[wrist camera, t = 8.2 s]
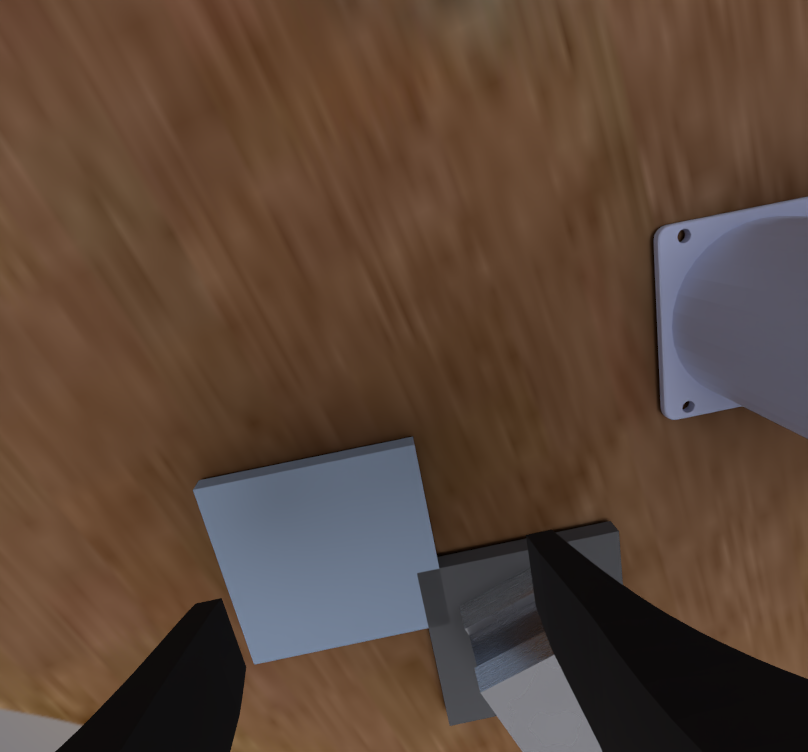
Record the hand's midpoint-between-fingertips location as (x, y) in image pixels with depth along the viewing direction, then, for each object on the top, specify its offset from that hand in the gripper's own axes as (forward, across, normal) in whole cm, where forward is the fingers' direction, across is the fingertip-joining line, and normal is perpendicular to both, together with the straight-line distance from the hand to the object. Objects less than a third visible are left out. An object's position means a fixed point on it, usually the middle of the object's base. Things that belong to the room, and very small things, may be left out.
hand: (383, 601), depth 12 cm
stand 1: (+10, +3, +5) cm, 11 cm away
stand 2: (+10, -5, +11) cm, 16 cm away
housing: (+9, -5, +11) cm, 15 cm away
